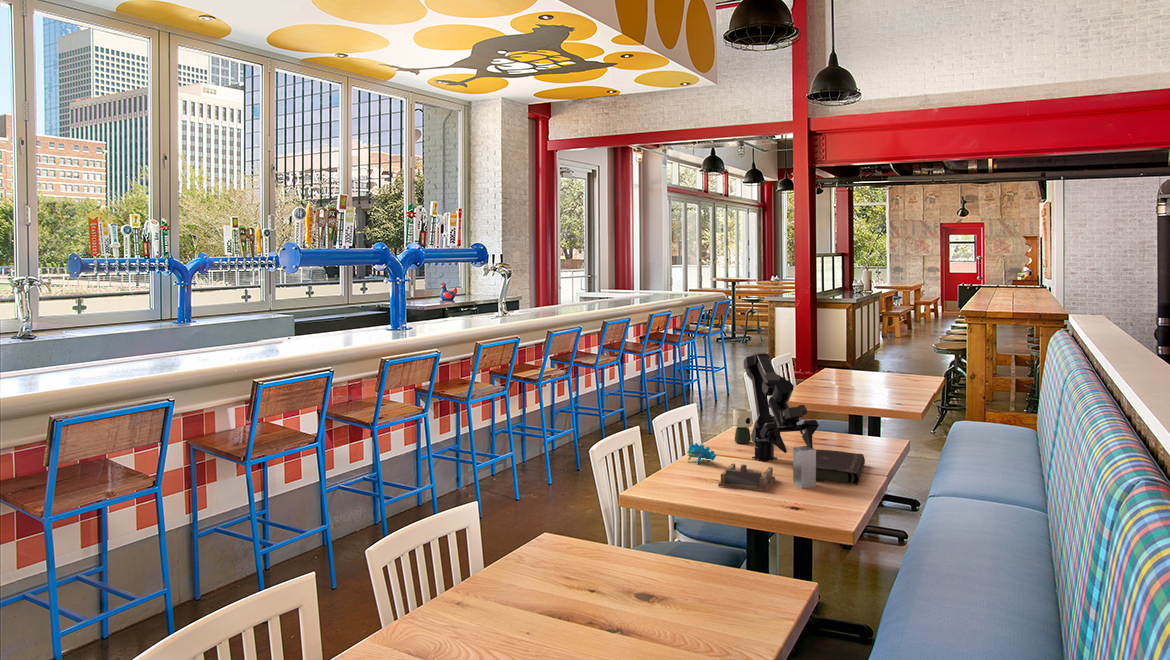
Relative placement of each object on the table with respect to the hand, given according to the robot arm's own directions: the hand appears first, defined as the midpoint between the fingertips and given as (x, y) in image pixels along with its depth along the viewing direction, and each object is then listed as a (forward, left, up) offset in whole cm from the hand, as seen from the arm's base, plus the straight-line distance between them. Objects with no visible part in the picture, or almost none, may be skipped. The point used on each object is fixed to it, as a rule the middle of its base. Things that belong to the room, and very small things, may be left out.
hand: (798, 451), depth 243 cm
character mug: (-26, -49, -10) cm, 56 cm away
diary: (-18, -1, -11) cm, 22 cm away
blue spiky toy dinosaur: (+7, -38, -11) cm, 40 cm away
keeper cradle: (+13, -10, -10) cm, 19 cm away
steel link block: (+1, +3, -10) cm, 11 cm away
